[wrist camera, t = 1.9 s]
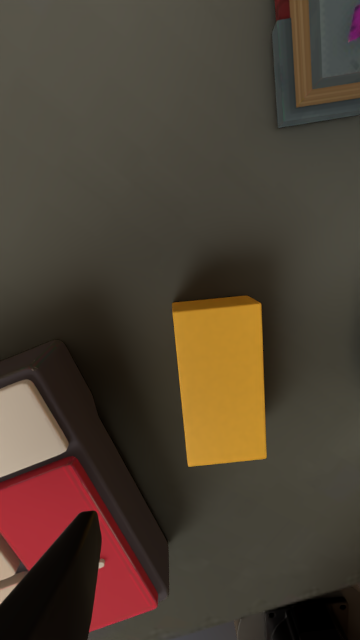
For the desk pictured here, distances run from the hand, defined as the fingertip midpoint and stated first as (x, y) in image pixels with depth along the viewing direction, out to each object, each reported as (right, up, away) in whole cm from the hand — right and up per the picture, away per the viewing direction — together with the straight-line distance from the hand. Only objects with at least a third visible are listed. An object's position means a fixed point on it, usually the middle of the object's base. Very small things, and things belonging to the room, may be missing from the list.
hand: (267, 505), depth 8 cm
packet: (0, +2, +9) cm, 9 cm away
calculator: (-11, -5, +10) cm, 16 cm away
